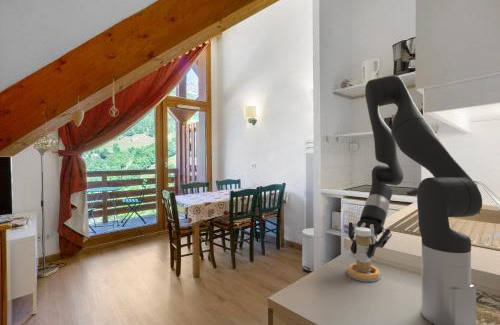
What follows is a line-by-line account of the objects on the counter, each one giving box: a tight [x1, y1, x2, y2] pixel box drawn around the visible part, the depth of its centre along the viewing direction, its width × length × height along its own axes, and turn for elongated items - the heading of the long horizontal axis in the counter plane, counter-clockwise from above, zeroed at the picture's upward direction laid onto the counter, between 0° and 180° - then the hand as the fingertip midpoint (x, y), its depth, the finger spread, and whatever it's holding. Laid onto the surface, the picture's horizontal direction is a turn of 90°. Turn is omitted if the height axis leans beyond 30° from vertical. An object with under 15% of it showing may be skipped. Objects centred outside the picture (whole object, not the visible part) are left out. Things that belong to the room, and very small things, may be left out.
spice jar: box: [355, 227, 372, 272], centre depth 85 cm, size 5×5×13 cm
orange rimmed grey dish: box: [346, 262, 382, 283], centre depth 85 cm, size 10×10×2 cm
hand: (361, 254), depth 84 cm, fingers closed on spice jar, 4 cm apart
